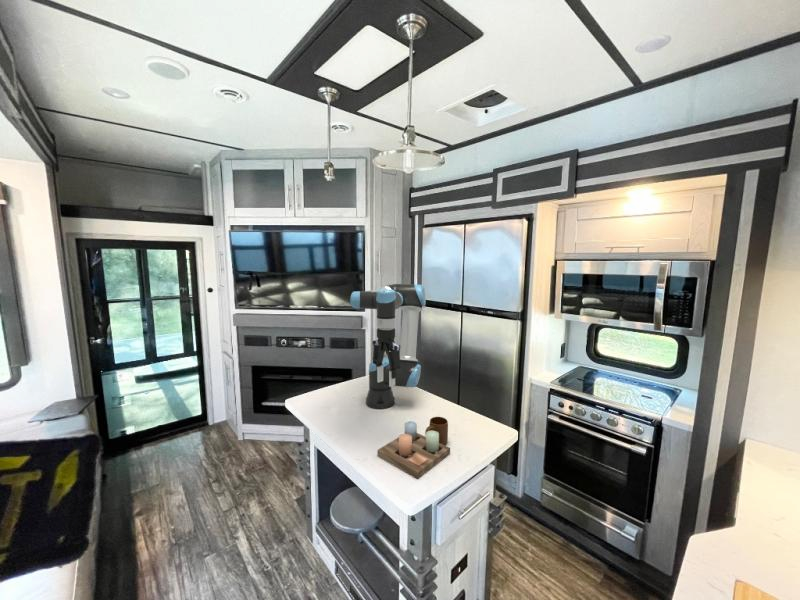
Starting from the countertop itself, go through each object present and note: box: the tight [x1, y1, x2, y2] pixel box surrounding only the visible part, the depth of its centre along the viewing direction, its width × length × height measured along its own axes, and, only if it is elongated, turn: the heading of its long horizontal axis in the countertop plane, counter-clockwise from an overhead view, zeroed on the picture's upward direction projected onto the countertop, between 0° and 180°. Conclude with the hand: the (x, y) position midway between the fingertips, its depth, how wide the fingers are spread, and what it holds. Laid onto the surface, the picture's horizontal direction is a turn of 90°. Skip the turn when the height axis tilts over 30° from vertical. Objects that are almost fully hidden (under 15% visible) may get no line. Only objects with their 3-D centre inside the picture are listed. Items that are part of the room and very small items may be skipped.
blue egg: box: [403, 420, 418, 442], centre depth 134 cm, size 5×5×6 cm
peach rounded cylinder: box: [398, 433, 413, 457], centre depth 124 cm, size 5×5×6 cm
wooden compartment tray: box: [376, 432, 451, 480], centre depth 127 cm, size 20×20×3 cm
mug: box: [424, 416, 449, 446], centre depth 134 cm, size 12×8×9 cm, turn 136°
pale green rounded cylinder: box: [425, 430, 439, 453], centre depth 127 cm, size 5×5×6 cm
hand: (386, 383), depth 134 cm, fingers open, 6 cm apart
